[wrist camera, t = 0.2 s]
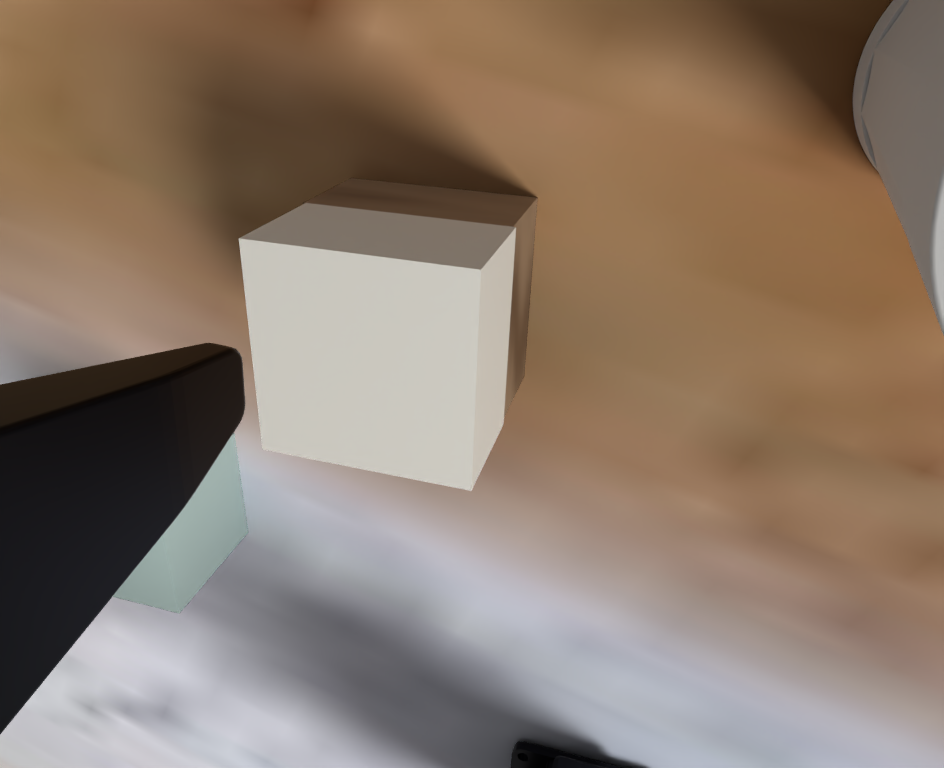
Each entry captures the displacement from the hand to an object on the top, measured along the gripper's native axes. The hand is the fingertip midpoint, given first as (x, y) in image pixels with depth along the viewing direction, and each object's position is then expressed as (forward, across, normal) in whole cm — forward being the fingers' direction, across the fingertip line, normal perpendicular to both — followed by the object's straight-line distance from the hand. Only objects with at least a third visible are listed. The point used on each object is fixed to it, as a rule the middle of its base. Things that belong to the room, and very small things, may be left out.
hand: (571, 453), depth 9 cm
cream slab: (+11, +6, +4) cm, 13 cm away
